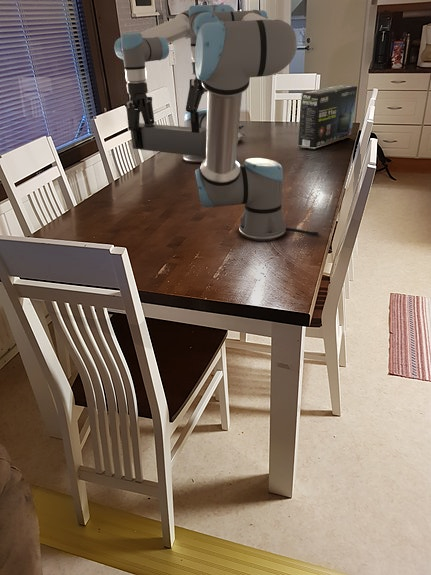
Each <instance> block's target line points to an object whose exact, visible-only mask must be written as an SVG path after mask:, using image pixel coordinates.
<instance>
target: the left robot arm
mask: <svg viewBox="0 0 431 575" xmlns="http://www.w3.org/2000/svg"><path fill="white" fill-rule="evenodd" d="M210 5H211V6H212V10H213V12H227V11H232V12H233V11H235V9H234V7H233V6H232V5H230V4H222V3H219V4H218V3H217V4H210ZM188 17H189V9H187V10H185V11H183V12H180V13H177V14H176V15H175V17H174V18H173V19H171V20H168V21H165V22H163V23H161V24H157V25H156V26H153V27H150V28H148V29H146V30H143V31H141V32H130V33H128V32H127V33H123V34H121V36H120V37H119V38H118V39H116V40H115V42H114V45H113V46H114V47H113V48H114V52H115V55H116V56H117V57H118V58H119V59H120V60H123V66H124V73H125V81H126V82H127V83H126V90H127V94H128V95H129V101H126V102H125V103H124V106H125V109H126V117H127V118H126V119H127V127H128V130H129V131H130V130H131V131H133V135H134V140H135V146H136V148H139V149H138V150H140V149H142V140H141V131H139V123H140V117H142V119H143V123H145V124H156V123H155V116H154V109H153V96H148V93H149V86H148V82H147V80H148V76H147V67H146V63H147V62H155V61H161V60H165V59H167V58H168V56H169V55H170V44H171V43H174V42H176V41H179V40H181V39H182V40H187V39H188V40H189V39H190V26H189V18H188ZM197 112H199V128H205V129H207V108H198V109H197ZM183 122H184V127H191V117H190V112H187V111H185V113H184V121H183ZM131 131H130V132H131ZM182 157H183V162H185V163H188V164H202V162H203V161H204V160H205V159H206V155H204V156H202V157H201V156H193V155H184V154H183V156H182Z"/></svg>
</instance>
